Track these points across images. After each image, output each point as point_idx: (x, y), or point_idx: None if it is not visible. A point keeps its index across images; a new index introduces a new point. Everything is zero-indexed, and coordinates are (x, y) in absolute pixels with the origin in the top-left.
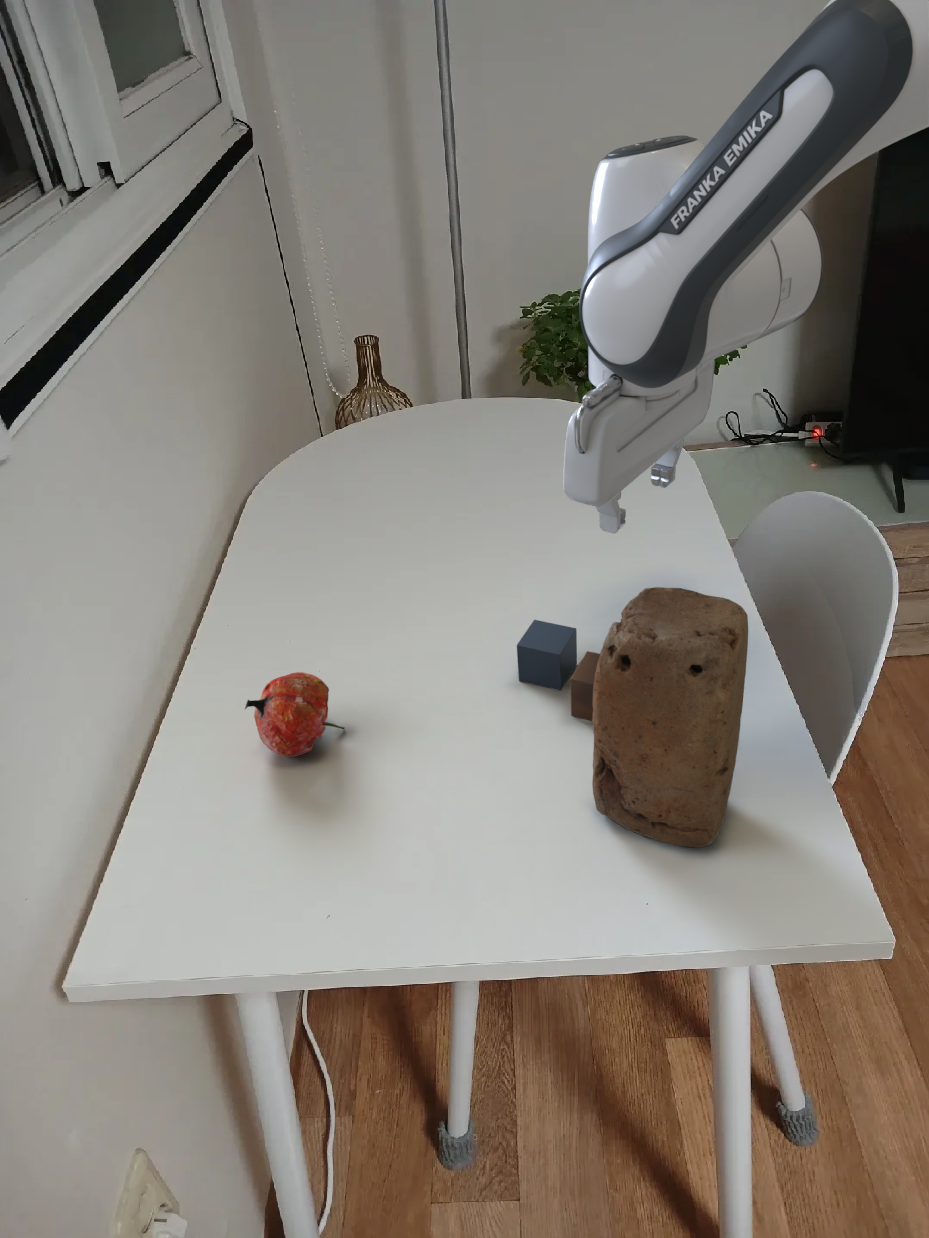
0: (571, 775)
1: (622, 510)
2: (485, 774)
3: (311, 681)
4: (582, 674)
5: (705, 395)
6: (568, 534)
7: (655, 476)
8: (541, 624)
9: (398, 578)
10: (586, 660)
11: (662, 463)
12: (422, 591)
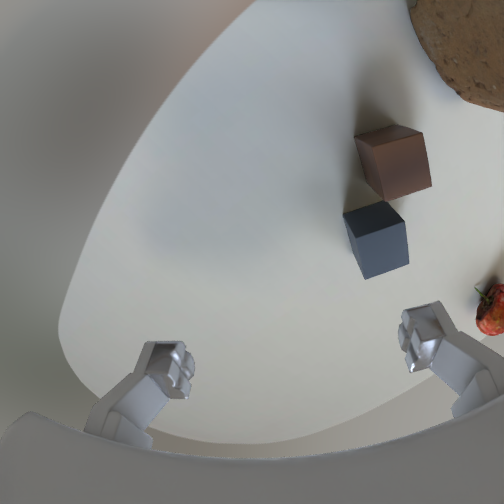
0: (459, 126)
1: (427, 343)
2: (483, 185)
3: (501, 321)
4: (421, 180)
5: (7, 469)
6: (182, 338)
7: (185, 375)
8: (369, 269)
9: (323, 374)
10: (400, 191)
11: (158, 393)
12: (327, 359)
